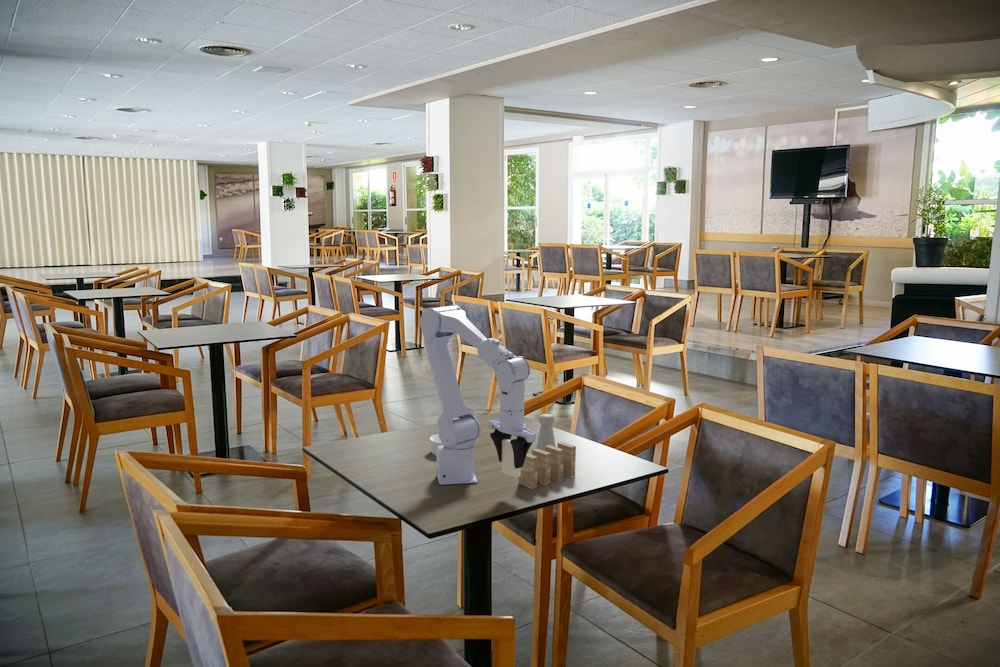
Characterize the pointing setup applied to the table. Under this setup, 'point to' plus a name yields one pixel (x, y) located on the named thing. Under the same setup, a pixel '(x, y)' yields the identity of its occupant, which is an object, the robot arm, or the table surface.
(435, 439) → the ramekin
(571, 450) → the domino
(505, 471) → the front domino
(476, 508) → the table surface
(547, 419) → the salt shaker
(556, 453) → the domino
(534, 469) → the domino
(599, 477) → the table surface
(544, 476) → the domino
